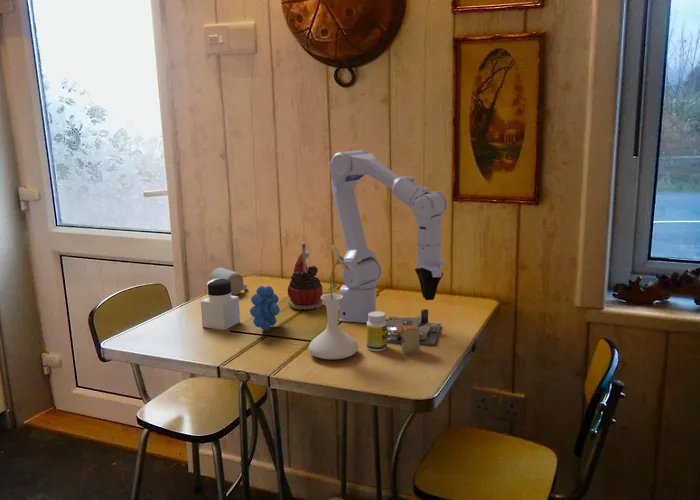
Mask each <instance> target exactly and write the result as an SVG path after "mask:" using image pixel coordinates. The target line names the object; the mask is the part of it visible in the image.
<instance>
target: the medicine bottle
mask: <svg viewBox="0 0 700 500" xmlns="http://www.w3.org/2000/svg"><path fill="white" fill-rule="evenodd" d="M206 290H207V298H205V299H202V300H200V309H201V312H200V313H201V324H202V325H201V326H202V327H203V328H208V329H214V330H219V331H226V330H228V329H230V328H231V327H234V326H235V325H237V324H239V323H240V322H241V316H240V315H241V314H240V297H239V296H237V295H234V296H231V282H230V281H229V280H227V279H213V280H211V281H209V280H208V282H207V283H206Z"/></svg>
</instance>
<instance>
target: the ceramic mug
mask: <svg viewBox="0 0 700 500" xmlns="http://www.w3.org/2000/svg"><path fill="white" fill-rule="evenodd" d="M208 279H209V280H208V282H209V281H211V280H213V279H227V280H229V281H230V282H231V296H237V295H239V294H240V293H241V292H242V290H244V291H246V290H247V287H248V285H247V284H244V278H243V276H242V275H241V274H240V273H238V272H236V271H233V270H230V269H227V268H224V267H217V268H215V269H213V270H212V271H211V273H210V275H209V278H208Z"/></svg>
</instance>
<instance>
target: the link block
mask: <svg viewBox="0 0 700 500" xmlns="http://www.w3.org/2000/svg"><path fill="white" fill-rule="evenodd" d="M419 341H420V330H419V328H418V326H417V325H401V343H400V344H401V346H400V347H401V348H400V350H401V352H402V354H403V357H404V356H405V357H407V356H408V357H409V356H419V355H420V345H419Z"/></svg>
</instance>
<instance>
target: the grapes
mask: <svg viewBox="0 0 700 500" xmlns="http://www.w3.org/2000/svg"><path fill="white" fill-rule="evenodd" d="M255 292H256V293H255V294H253V295H252V296H251V298H250V301H251V303H252V304H253V306H252V307H251V308H250V309H249V312H250V316H252V317H253V324H254V326H255V327H256V328H261V330H262V331H265V330H266V331H268V330H269V329H270V328H271V327H273V326H275V325H276V323H277V322H278V320H277V318H276V316H278V315H279V314H280V312H281V308H280V306H279V305H278V302H279V296H278V295H277V294H276V293H275V291H274V288H272V286H269V285H267V286H263V285H261V286H259V287H257V288H256V291H255Z"/></svg>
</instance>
